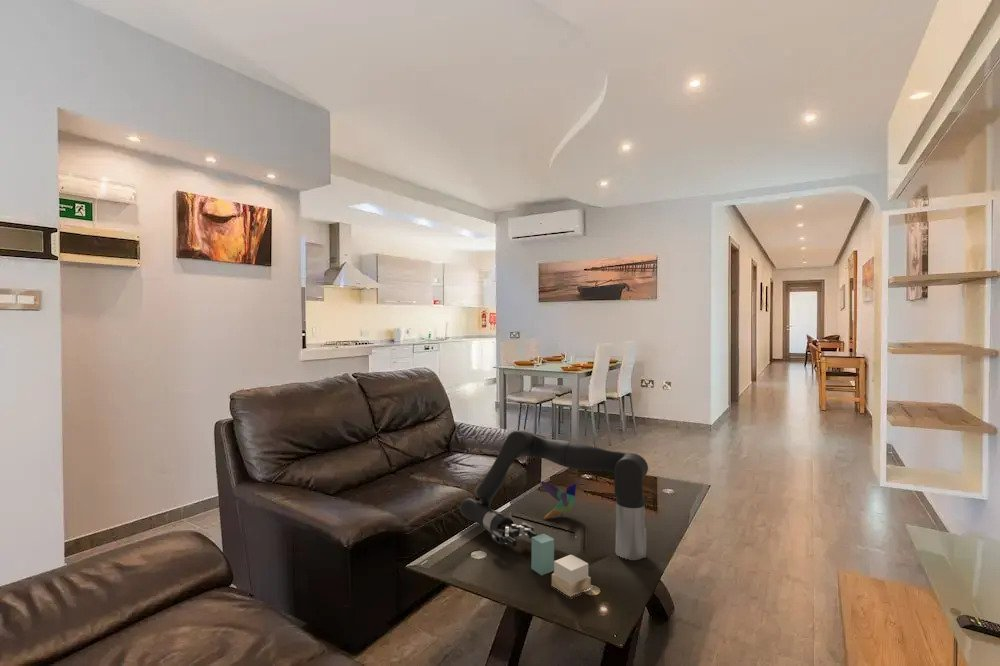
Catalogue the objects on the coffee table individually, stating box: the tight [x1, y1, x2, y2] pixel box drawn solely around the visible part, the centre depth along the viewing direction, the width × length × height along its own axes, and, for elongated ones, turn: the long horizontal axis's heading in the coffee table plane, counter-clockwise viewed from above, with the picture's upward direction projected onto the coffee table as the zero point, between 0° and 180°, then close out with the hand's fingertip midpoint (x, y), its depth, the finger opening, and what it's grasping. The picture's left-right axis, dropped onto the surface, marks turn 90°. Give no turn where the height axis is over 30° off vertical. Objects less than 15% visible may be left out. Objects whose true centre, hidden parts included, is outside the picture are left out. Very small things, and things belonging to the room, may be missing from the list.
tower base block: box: [551, 572, 592, 597], centre depth 145 cm, size 8×8×4 cm
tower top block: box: [553, 554, 589, 585], centre depth 144 cm, size 7×7×4 cm
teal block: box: [530, 533, 555, 576], centre depth 155 cm, size 5×5×10 cm
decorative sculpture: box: [540, 476, 585, 520], centre depth 197 cm, size 17×18×15 cm
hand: (526, 540), depth 162 cm, fingers open, 8 cm apart
